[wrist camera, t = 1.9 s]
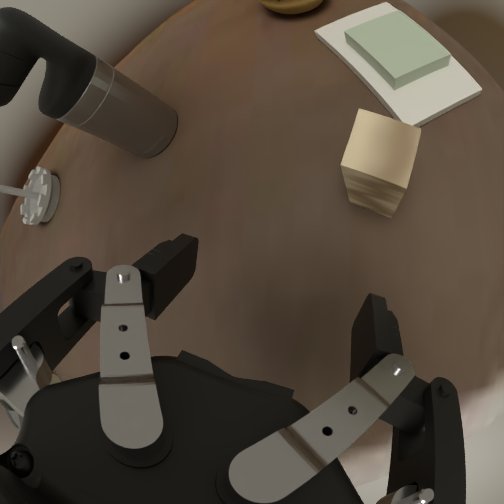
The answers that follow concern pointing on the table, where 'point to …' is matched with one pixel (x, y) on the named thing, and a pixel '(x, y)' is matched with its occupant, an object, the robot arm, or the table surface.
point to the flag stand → (37, 196)
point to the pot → (290, 5)
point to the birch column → (379, 161)
